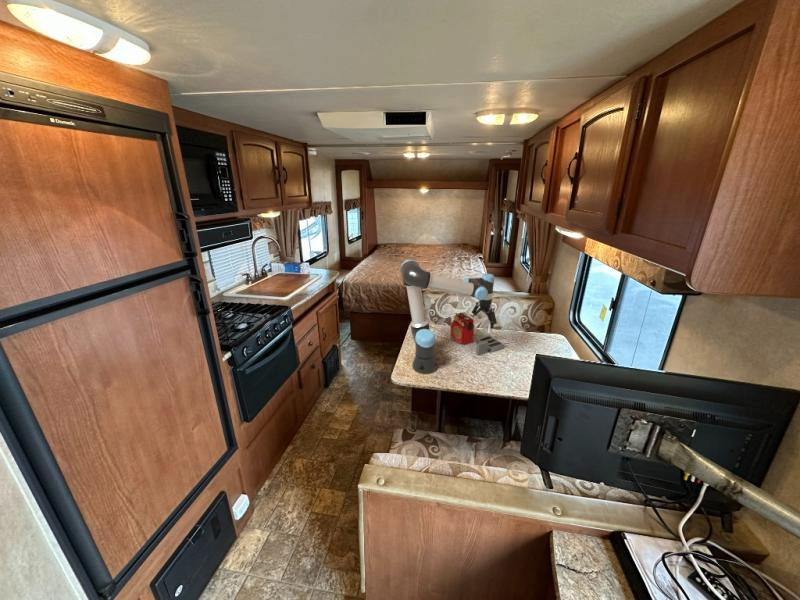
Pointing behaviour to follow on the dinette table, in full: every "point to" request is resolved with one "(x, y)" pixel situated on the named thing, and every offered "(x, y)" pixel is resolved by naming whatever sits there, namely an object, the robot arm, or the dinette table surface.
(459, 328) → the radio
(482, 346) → the panel
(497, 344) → the rack
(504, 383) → the dinette table surface
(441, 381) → the dinette table surface
